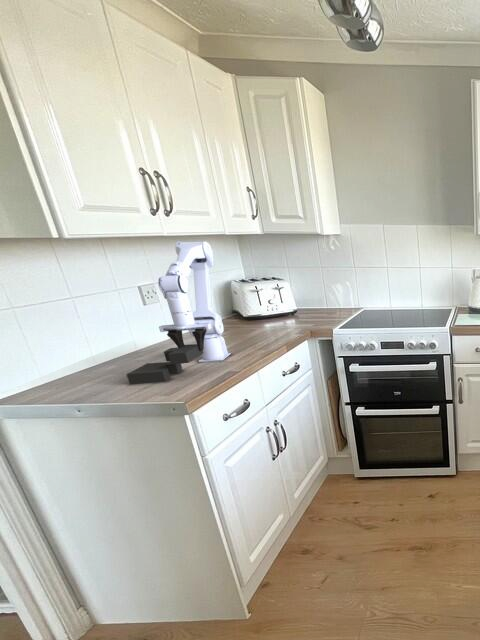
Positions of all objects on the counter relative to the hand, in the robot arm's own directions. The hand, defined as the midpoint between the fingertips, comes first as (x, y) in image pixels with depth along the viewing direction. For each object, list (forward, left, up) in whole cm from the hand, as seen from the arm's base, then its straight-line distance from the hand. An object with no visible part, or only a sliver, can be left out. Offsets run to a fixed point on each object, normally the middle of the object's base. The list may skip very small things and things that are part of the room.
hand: (192, 350), depth 144 cm
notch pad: (+4, -10, -7) cm, 13 cm away
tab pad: (+4, -1, -2) cm, 5 cm away
